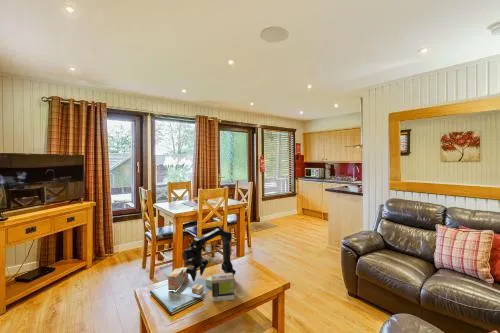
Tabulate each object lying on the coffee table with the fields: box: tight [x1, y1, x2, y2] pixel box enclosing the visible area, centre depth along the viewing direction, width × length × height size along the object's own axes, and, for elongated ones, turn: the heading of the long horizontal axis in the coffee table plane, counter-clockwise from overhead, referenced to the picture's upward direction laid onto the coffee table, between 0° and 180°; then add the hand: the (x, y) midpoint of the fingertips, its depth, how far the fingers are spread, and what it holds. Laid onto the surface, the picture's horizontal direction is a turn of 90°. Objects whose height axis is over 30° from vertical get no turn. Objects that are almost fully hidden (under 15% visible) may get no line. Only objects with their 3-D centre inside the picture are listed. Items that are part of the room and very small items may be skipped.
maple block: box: [192, 284, 204, 295], centre depth 174 cm, size 6×6×5 cm
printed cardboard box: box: [167, 266, 189, 291], centre depth 186 cm, size 21×6×12 cm, turn 171°
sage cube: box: [205, 276, 212, 287], centre depth 186 cm, size 5×5×5 cm
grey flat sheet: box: [188, 278, 212, 298], centre depth 181 cm, size 18×23×1 cm
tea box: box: [211, 272, 235, 302], centre depth 170 cm, size 15×10×15 cm, turn 100°
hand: (197, 278), depth 173 cm, fingers open, 9 cm apart
